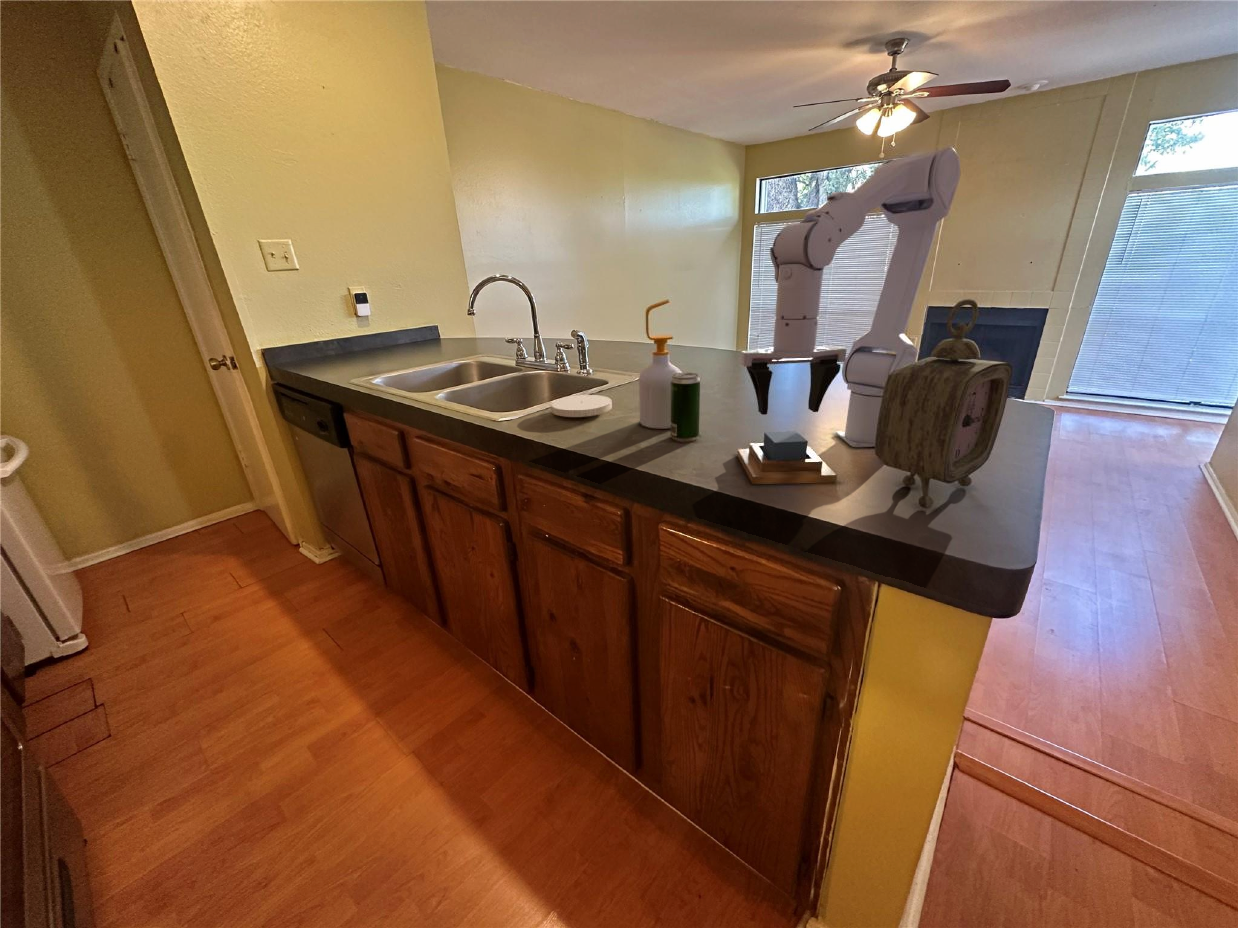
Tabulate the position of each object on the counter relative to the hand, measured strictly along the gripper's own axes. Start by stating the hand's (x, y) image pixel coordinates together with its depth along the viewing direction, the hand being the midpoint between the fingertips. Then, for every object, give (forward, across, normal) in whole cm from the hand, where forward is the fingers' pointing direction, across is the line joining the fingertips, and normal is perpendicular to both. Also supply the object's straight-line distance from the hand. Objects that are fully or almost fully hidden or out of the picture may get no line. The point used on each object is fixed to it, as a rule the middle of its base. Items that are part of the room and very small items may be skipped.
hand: (787, 411), depth 72 cm
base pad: (+9, 0, 0) cm, 9 cm away
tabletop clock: (+9, -16, +10) cm, 21 cm away
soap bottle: (+9, +16, -27) cm, 33 cm away
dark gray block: (+8, 0, 0) cm, 8 cm away
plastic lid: (+9, +34, -38) cm, 52 cm away
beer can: (+9, +13, -17) cm, 23 cm away
